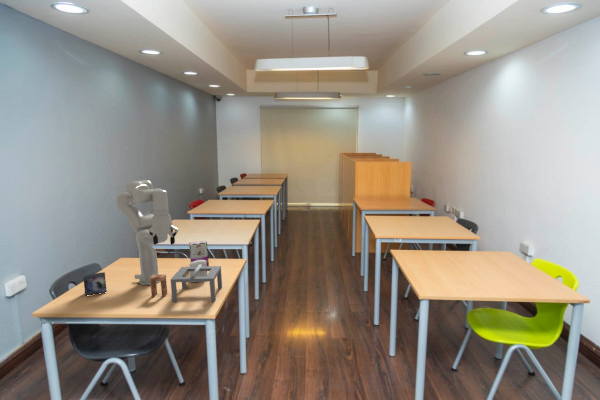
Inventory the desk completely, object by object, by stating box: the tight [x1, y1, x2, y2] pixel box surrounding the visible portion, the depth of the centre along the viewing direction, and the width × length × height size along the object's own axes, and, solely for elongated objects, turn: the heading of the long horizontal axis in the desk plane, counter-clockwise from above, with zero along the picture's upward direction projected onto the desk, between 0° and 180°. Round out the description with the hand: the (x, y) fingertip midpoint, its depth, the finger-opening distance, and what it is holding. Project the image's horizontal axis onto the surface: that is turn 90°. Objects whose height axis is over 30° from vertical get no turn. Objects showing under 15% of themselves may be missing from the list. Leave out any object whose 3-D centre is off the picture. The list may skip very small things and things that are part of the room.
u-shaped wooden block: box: [150, 274, 168, 298], centre depth 206 cm, size 7×4×11 cm, turn 90°
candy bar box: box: [188, 240, 210, 266], centre depth 251 cm, size 11×5×16 cm, turn 113°
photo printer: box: [189, 260, 208, 277], centre depth 227 cm, size 10×4×12 cm, turn 123°
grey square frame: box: [170, 264, 223, 303], centre depth 206 cm, size 22×19×14 cm
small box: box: [83, 271, 108, 297], centre depth 211 cm, size 11×6×10 cm, turn 117°
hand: (164, 243), depth 207 cm, fingers open, 9 cm apart
